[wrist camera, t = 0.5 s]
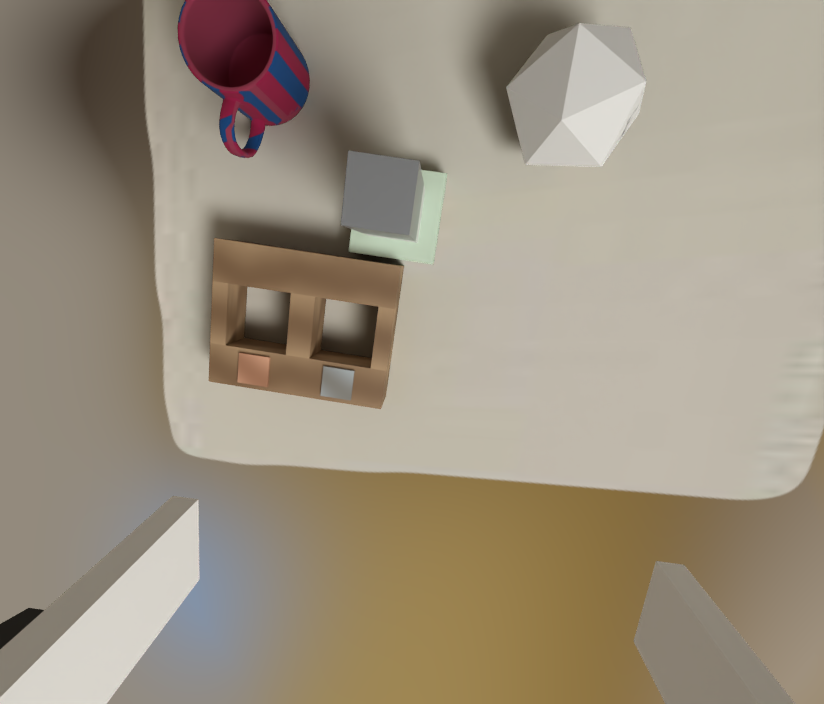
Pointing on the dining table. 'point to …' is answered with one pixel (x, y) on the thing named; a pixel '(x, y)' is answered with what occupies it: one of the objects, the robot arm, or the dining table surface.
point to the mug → (244, 64)
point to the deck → (427, 232)
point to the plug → (383, 196)
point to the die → (577, 95)
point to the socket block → (300, 322)
